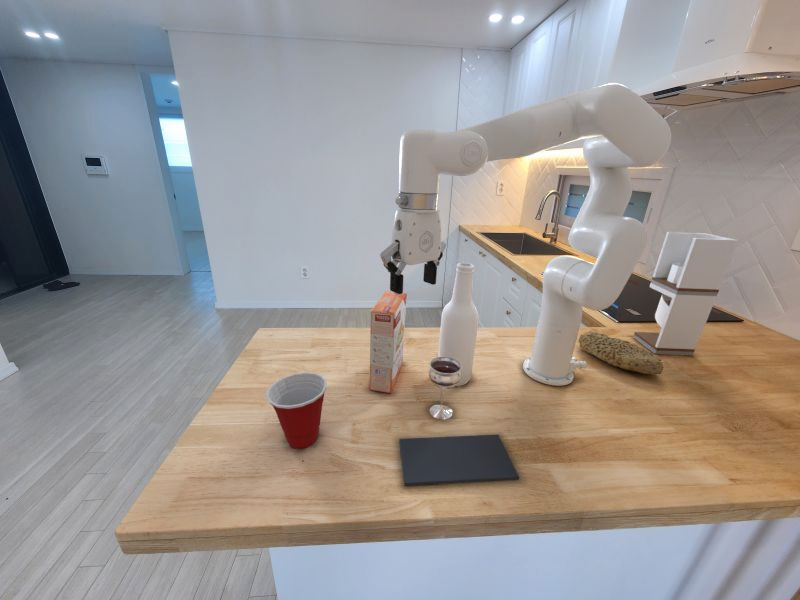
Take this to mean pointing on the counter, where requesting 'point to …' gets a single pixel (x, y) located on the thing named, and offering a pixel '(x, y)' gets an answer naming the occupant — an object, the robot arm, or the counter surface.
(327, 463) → the counter surface
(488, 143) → the robot arm
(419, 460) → the placemat
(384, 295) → the cracker box
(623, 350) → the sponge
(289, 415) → the plastic cup
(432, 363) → the wineglass
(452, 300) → the alcohol
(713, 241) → the white shelf stand
